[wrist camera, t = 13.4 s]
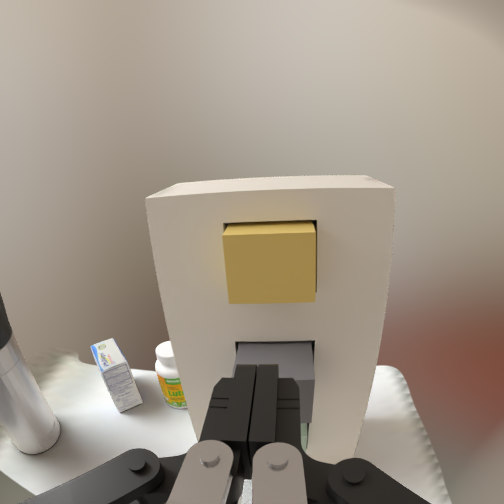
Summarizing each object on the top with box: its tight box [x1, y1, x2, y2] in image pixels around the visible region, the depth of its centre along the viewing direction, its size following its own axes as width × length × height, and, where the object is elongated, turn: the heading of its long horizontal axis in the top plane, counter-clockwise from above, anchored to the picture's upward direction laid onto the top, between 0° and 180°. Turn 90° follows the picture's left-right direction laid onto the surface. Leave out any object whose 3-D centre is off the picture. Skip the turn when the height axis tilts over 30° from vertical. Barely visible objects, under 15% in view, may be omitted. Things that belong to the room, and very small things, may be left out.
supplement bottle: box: [155, 341, 187, 409], centre depth 43 cm, size 5×5×10 cm
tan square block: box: [222, 220, 316, 304], centre depth 24 cm, size 6×6×5 cm
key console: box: [145, 175, 395, 464], centre depth 31 cm, size 18×8×32 cm, turn 85°
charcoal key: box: [231, 340, 315, 423], centre depth 25 cm, size 6×6×5 cm
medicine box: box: [91, 339, 143, 412], centre depth 44 cm, size 8×4×9 cm, turn 37°
